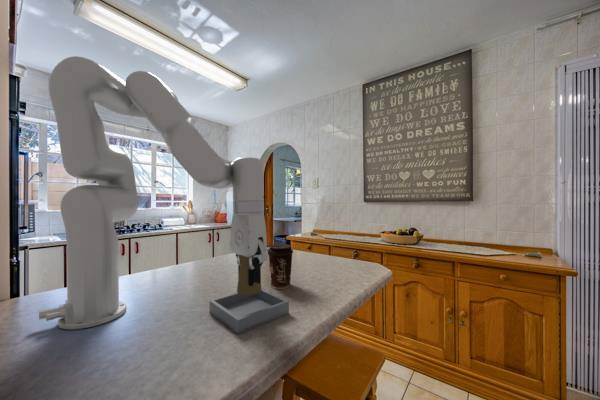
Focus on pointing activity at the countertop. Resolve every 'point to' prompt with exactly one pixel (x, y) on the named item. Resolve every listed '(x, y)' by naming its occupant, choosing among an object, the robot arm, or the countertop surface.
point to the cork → (246, 278)
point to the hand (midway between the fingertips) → (249, 281)
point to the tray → (248, 310)
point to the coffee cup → (280, 265)
